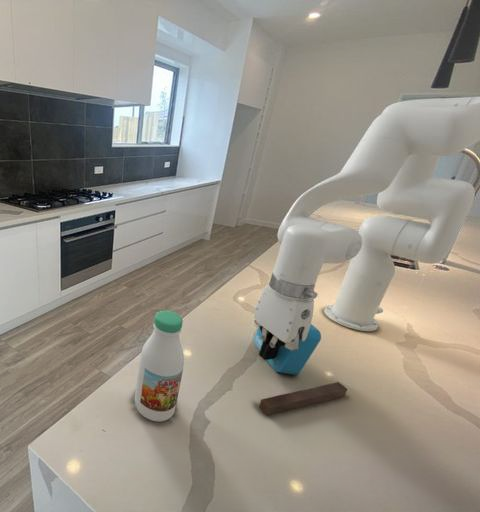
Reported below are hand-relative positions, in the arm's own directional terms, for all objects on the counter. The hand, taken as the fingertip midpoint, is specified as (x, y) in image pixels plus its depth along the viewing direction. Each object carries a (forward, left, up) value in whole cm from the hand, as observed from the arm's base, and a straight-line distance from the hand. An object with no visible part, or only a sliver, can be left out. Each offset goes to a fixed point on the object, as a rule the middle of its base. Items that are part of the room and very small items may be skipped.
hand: (266, 357), depth 68 cm
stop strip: (0, +10, -3) cm, 10 cm away
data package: (-4, -2, -3) cm, 5 cm away
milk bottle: (+30, +4, -3) cm, 30 cm away
